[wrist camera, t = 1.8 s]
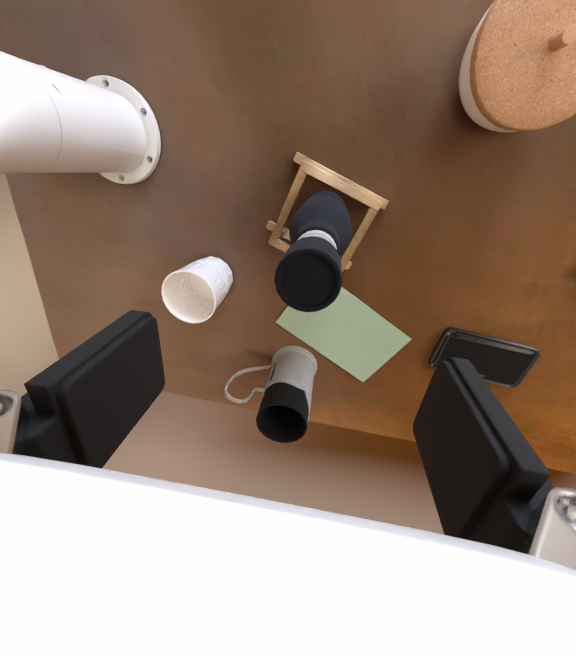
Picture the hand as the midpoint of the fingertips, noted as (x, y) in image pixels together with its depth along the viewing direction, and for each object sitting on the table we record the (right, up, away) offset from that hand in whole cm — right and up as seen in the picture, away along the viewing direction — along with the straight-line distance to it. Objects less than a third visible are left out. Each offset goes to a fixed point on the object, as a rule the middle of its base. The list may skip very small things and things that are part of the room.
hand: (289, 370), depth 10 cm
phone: (+32, -3, +40) cm, 52 cm away
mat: (+9, +1, +41) cm, 42 cm away
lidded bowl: (+24, +30, +24) cm, 45 cm away
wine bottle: (+5, +18, +33) cm, 38 cm away
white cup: (-13, +10, +40) cm, 43 cm away
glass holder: (-1, -5, +46) cm, 46 cm away
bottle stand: (+5, +18, +33) cm, 38 cm away
